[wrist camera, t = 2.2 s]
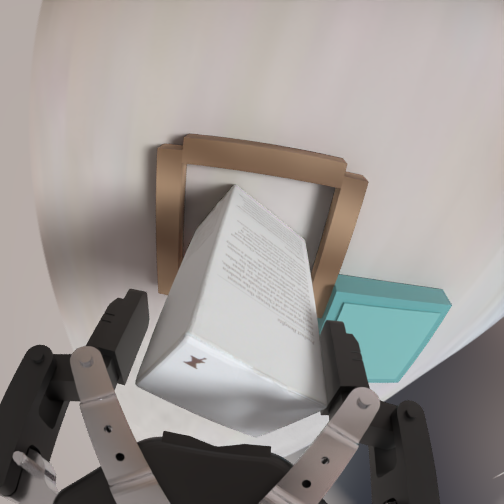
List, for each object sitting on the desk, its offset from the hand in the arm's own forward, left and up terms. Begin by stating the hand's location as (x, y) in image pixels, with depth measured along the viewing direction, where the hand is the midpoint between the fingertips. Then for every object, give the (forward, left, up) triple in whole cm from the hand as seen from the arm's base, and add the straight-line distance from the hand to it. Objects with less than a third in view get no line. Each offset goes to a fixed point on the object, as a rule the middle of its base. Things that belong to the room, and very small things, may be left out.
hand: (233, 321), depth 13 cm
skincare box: (0, 0, -8) cm, 8 cm away
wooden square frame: (0, 0, -8) cm, 8 cm away
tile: (+7, +11, -8) cm, 15 cm away
